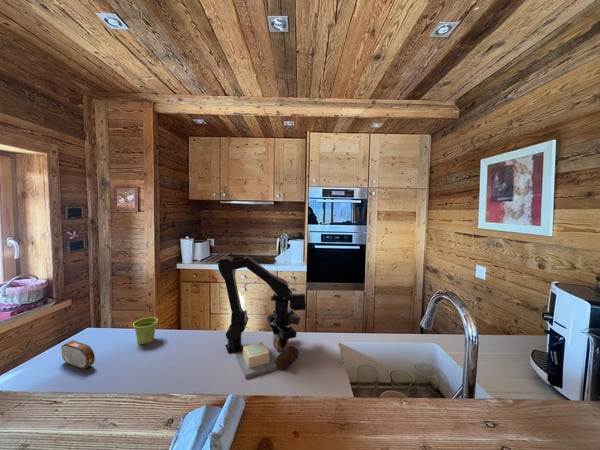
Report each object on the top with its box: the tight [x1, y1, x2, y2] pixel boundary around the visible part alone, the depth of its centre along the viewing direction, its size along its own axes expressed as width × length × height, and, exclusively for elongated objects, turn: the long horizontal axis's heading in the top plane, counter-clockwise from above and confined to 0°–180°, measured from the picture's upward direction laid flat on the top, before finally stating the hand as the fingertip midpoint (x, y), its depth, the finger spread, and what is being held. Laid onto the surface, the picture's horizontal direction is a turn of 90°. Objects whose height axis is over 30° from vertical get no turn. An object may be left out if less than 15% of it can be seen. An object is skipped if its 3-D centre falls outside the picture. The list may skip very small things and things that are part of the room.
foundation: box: [235, 342, 278, 380], centre depth 96 cm, size 14×12×6 cm
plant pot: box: [132, 317, 159, 345], centre depth 110 cm, size 9×9×9 cm
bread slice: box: [61, 339, 96, 370], centre depth 92 cm, size 15×3×8 cm, turn 71°
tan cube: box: [272, 333, 289, 352], centre depth 108 cm, size 5×5×5 cm
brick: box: [275, 345, 299, 372], centre depth 97 cm, size 11×4×5 cm, turn 152°
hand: (280, 344), depth 108 cm, fingers closed on tan cube, 5 cm apart
